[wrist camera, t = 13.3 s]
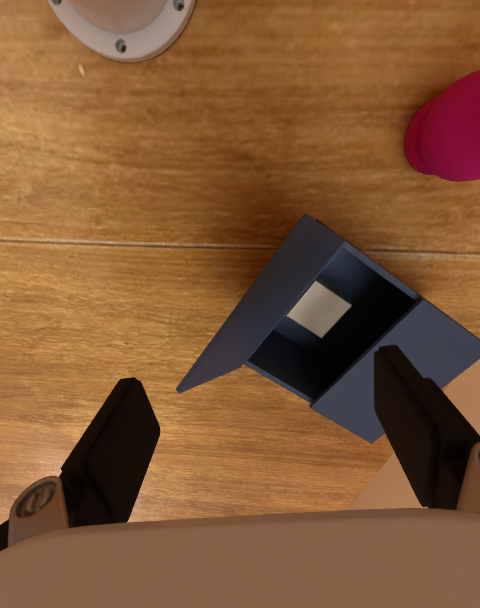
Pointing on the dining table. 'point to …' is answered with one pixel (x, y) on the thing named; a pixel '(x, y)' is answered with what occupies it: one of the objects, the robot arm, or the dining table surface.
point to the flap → (266, 301)
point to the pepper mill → (448, 133)
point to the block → (319, 306)
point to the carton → (362, 343)
